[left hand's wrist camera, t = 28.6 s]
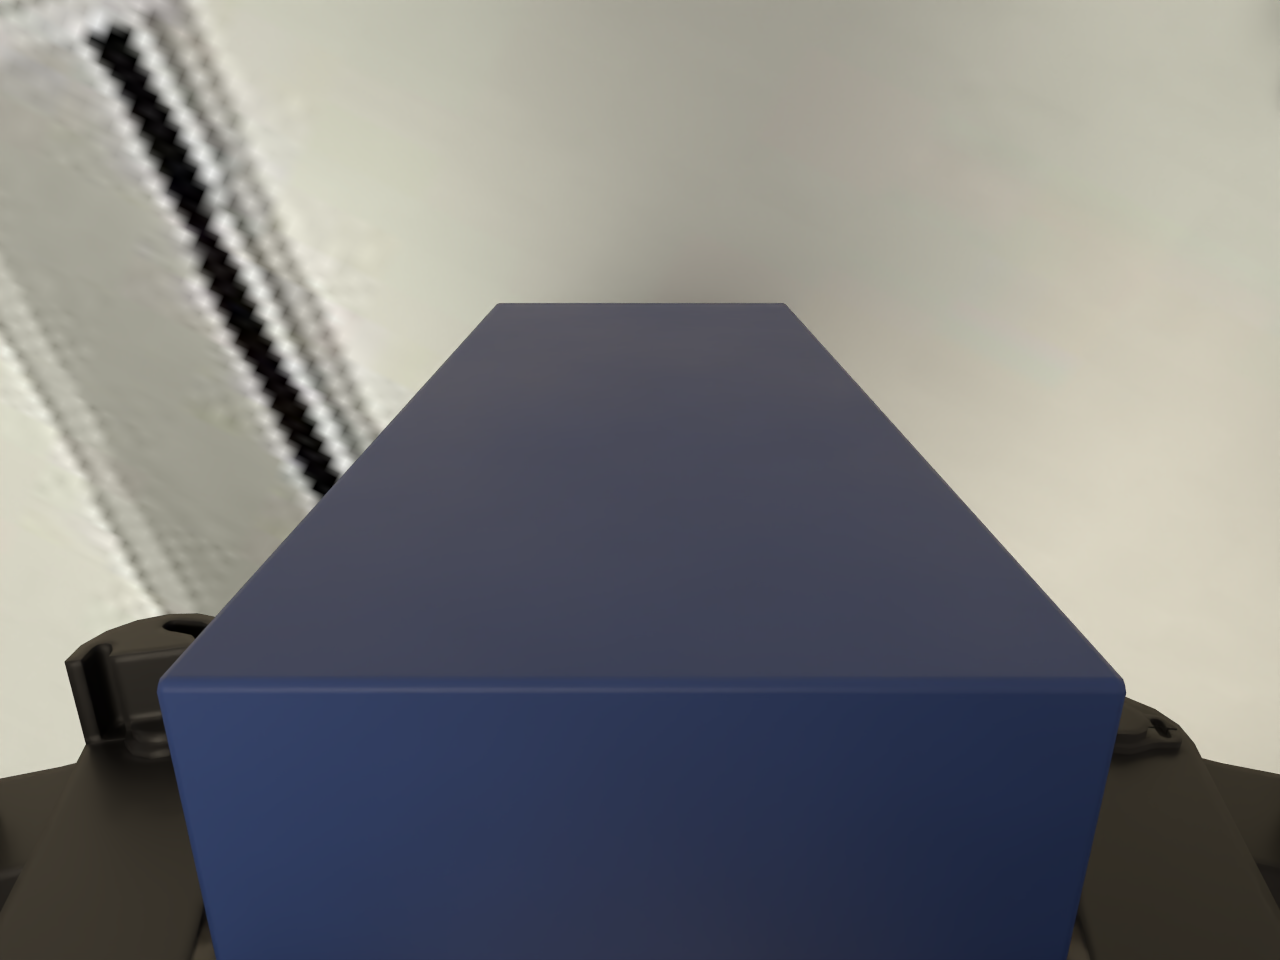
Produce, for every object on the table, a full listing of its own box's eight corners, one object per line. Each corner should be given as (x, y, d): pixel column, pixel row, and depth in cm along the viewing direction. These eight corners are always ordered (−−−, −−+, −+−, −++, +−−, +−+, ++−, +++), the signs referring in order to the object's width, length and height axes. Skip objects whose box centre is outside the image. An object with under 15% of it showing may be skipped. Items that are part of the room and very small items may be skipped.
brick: (514, 623, 18) (308, 1397, 7) (496, 302, 15) (149, 680, 5) (768, 623, 17) (973, 1398, 7) (787, 302, 15) (1135, 685, 4)
